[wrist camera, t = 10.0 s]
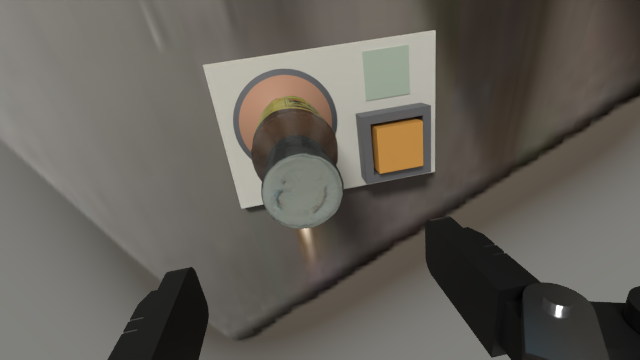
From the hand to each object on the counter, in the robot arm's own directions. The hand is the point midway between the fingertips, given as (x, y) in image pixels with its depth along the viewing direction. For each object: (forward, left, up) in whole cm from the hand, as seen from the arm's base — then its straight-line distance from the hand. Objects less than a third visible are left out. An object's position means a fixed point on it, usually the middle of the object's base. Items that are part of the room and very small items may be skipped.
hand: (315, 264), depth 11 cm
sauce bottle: (0, 0, -25) cm, 25 cm away
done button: (-12, +4, -24) cm, 26 cm away
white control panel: (-5, +1, -26) cm, 26 cm away
